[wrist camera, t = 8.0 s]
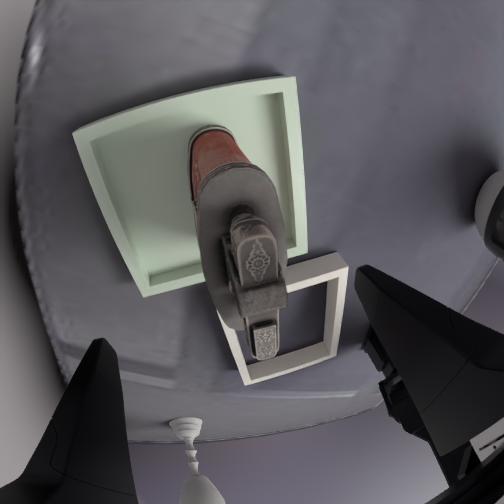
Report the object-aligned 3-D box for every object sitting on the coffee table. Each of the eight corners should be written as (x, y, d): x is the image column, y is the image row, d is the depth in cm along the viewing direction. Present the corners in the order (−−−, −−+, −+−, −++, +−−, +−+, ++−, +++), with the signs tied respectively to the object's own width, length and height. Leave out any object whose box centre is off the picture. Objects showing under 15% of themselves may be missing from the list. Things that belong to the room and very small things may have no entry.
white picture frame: (337, 251, 24) (348, 266, 22) (329, 342, 32) (336, 356, 31) (211, 287, 23) (215, 305, 21) (240, 370, 31) (244, 385, 29)
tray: (284, 75, 15) (295, 76, 13) (299, 240, 22) (307, 252, 21) (80, 126, 13) (72, 133, 12) (144, 282, 21) (143, 297, 19)
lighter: (178, 130, 15) (186, 218, 7) (239, 119, 15) (320, 193, 7) (201, 248, 20) (230, 382, 12) (250, 238, 20) (304, 362, 12)
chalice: (154, 427, 37) (173, 534, 23) (173, 412, 34) (197, 534, 20) (196, 432, 40) (219, 530, 26) (218, 417, 38) (247, 526, 24)
